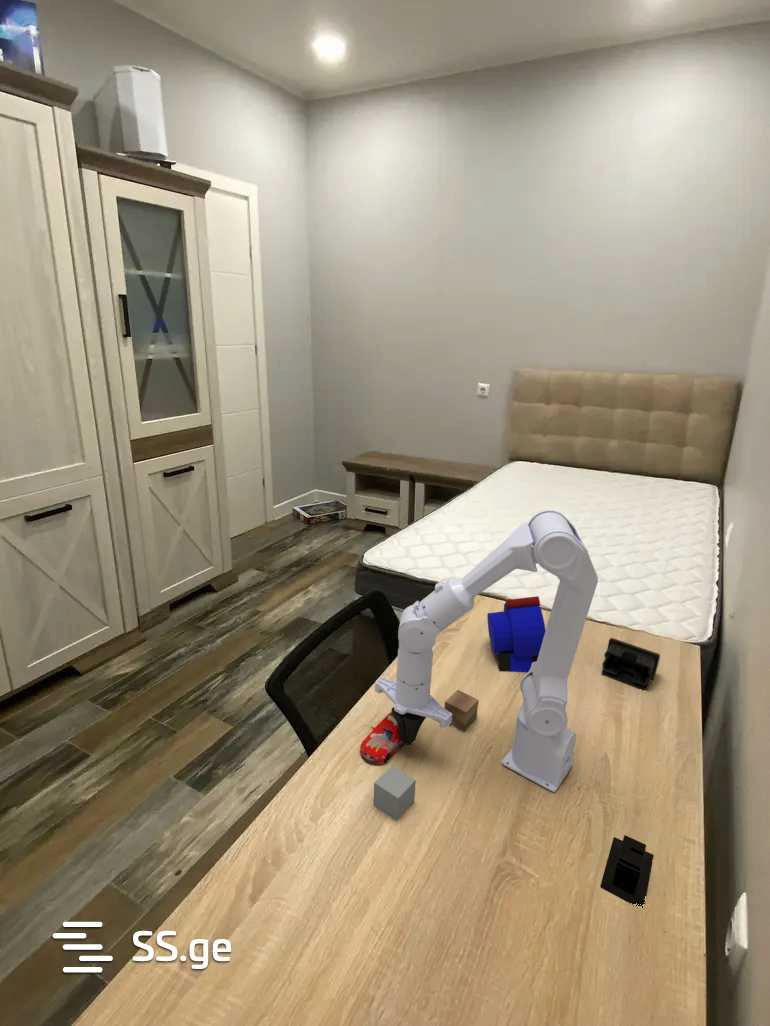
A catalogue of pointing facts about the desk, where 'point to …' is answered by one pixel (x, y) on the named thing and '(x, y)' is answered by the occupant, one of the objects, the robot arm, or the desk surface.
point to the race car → (382, 741)
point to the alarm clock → (517, 634)
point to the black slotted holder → (630, 664)
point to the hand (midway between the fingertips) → (409, 741)
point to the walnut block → (462, 709)
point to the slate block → (394, 792)
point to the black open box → (628, 870)
